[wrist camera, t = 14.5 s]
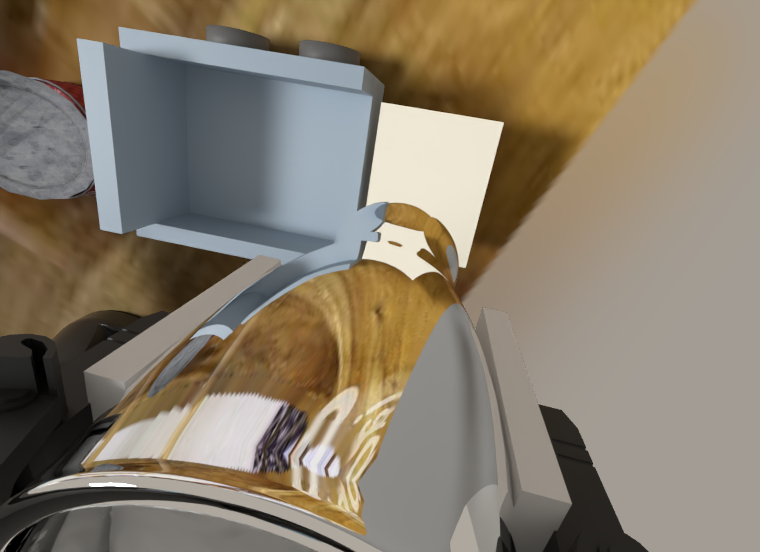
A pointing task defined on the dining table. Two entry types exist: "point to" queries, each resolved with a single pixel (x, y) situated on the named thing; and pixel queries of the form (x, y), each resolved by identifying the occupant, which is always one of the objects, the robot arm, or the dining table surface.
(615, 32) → the dining table surface
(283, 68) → the trailer
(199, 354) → the beer glass
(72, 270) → the dining table surface
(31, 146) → the canned food
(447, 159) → the tailgate
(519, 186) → the dining table surface
